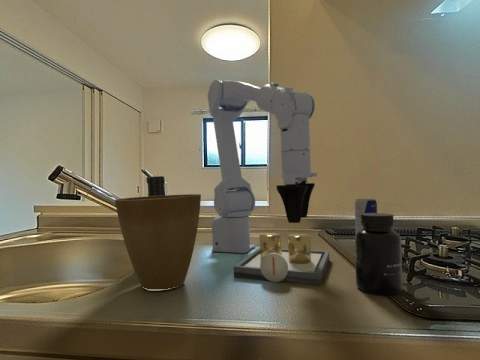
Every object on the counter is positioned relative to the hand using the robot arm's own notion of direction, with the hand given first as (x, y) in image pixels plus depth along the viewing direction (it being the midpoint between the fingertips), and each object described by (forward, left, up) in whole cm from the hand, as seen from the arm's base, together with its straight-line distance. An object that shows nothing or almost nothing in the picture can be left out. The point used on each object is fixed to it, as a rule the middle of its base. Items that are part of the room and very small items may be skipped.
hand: (298, 219), depth 61 cm
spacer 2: (0, 0, -8) cm, 8 cm away
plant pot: (-22, -15, -10) cm, 28 cm away
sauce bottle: (-32, -2, -10) cm, 34 cm away
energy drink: (+13, +25, -10) cm, 30 cm away
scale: (-3, 0, -10) cm, 10 cm away
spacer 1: (-6, 0, -8) cm, 10 cm away
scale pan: (-3, 0, -9) cm, 9 cm away
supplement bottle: (+14, -7, -10) cm, 19 cm away
